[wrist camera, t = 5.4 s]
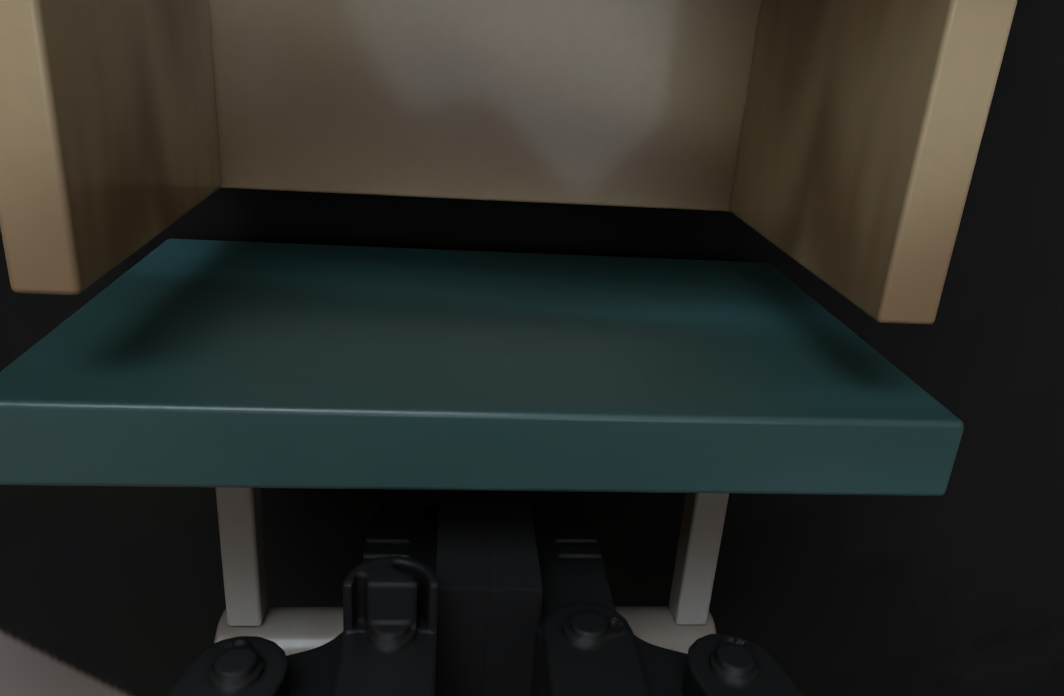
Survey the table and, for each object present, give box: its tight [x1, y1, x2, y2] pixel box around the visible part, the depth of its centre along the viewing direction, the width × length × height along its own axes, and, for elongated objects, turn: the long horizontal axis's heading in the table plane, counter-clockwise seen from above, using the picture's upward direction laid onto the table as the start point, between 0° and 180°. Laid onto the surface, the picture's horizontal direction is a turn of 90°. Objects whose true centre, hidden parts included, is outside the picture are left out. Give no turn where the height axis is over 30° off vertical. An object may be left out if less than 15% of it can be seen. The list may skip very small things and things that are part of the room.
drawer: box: [0, 0, 1017, 656], centre depth 13 cm, size 20×13×8 cm, turn 177°
